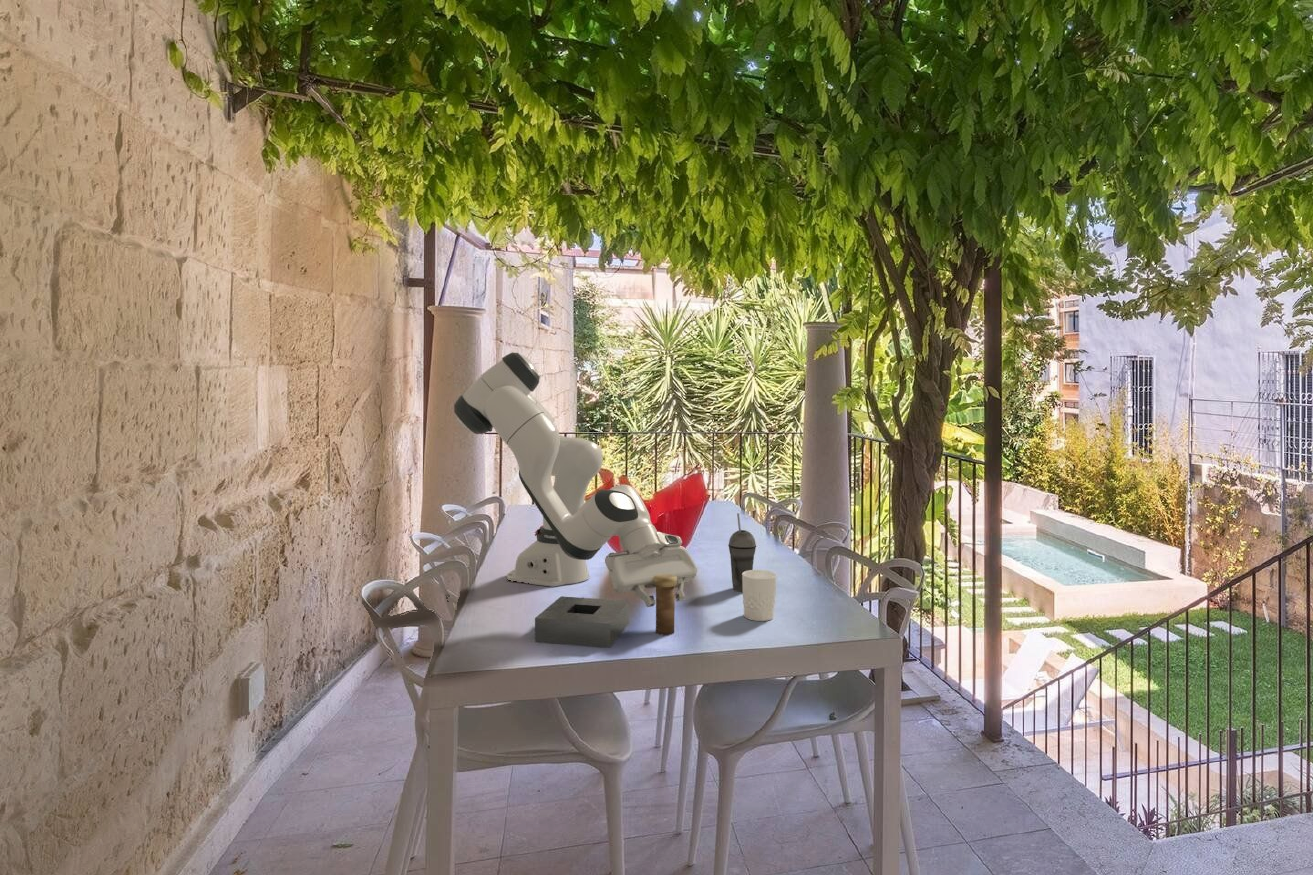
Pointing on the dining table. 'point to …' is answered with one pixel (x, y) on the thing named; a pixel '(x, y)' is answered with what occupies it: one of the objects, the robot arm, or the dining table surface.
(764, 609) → the white cup
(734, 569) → the beverage cup
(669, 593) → the brass pin
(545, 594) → the dining table surface
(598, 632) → the hitch block
